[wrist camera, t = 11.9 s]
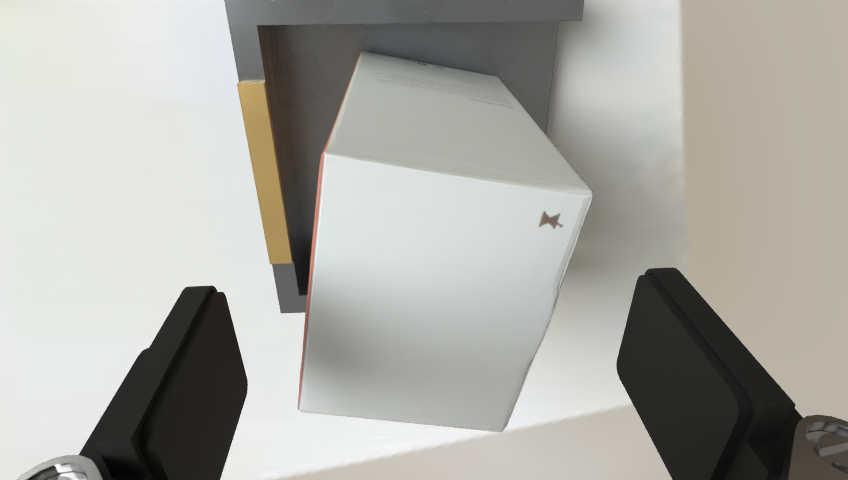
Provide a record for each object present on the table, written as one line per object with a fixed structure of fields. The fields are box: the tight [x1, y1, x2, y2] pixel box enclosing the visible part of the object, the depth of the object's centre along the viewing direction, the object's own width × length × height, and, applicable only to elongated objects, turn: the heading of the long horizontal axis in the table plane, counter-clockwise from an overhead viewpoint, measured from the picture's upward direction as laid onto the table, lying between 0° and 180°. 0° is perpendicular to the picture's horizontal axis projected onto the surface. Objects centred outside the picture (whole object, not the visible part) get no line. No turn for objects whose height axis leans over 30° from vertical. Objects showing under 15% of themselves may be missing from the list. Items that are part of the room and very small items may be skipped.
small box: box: [298, 51, 593, 432], centre depth 19 cm, size 8×6×13 cm
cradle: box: [224, 0, 584, 313], centre depth 23 cm, size 14×13×4 cm
